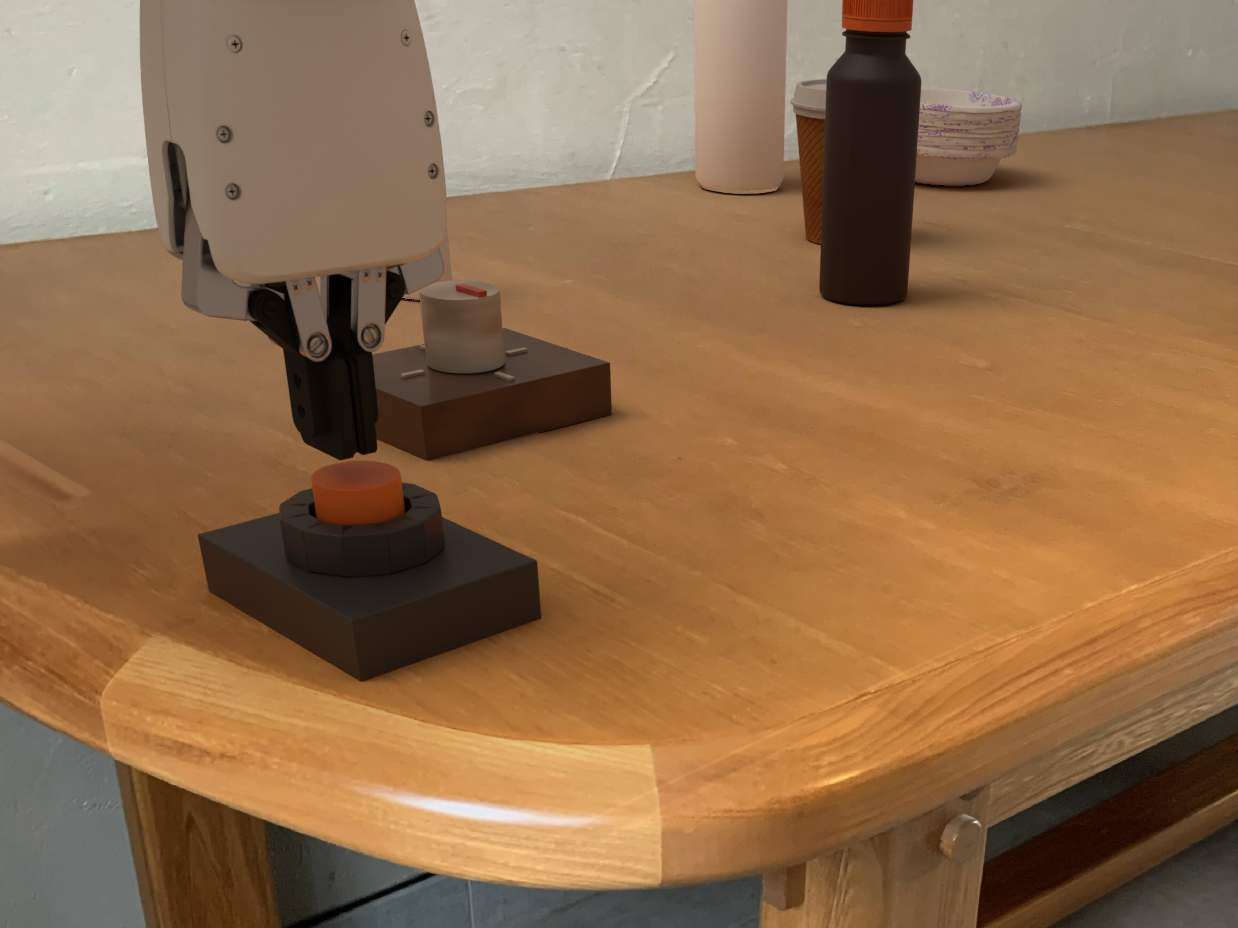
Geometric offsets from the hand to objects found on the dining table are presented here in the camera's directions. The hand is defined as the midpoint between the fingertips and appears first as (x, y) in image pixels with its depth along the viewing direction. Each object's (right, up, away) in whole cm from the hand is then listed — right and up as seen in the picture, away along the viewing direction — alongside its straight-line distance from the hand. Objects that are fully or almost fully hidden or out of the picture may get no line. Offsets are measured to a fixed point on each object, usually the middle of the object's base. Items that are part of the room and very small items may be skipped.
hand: (339, 447), depth 62 cm
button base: (0, -6, +4) cm, 7 cm away
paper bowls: (+33, +56, +97) cm, 117 cm away
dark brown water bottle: (+23, +27, +53) cm, 64 cm away
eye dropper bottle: (-10, +25, +49) cm, 56 cm away
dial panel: (0, +9, +26) cm, 28 cm away
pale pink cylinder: (+12, +51, +89) cm, 104 cm away
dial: (0, +12, +24) cm, 27 cm away
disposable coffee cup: (+22, +38, +70) cm, 83 cm away
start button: (0, -2, +2) cm, 3 cm away
